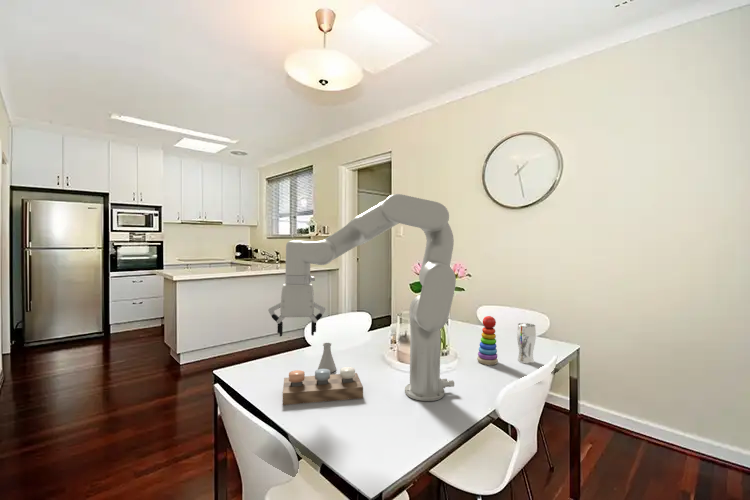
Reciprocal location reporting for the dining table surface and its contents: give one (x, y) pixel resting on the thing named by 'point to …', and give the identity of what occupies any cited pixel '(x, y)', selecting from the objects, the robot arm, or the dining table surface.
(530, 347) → the beer glass
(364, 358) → the dining table surface
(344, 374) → the ivory button
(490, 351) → the stacking toy
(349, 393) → the button panel
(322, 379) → the slate button
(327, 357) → the flask
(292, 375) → the terracotta button
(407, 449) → the dining table surface
